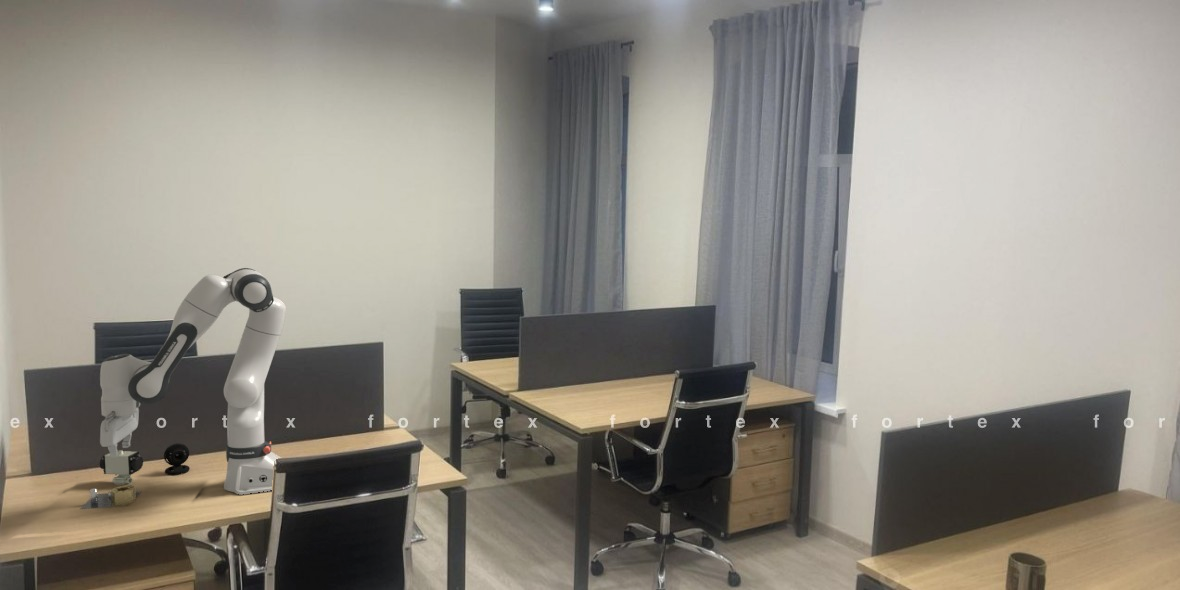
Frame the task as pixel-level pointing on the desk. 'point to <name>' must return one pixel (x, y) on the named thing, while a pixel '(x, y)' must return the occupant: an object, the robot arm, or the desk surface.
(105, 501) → the carrier
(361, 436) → the desk surface
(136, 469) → the pneumatic valve
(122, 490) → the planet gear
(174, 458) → the webcam
